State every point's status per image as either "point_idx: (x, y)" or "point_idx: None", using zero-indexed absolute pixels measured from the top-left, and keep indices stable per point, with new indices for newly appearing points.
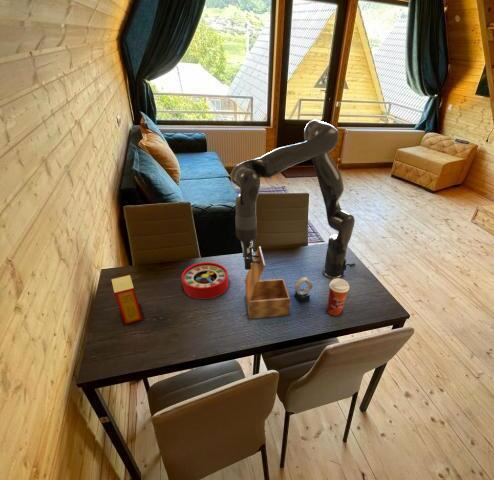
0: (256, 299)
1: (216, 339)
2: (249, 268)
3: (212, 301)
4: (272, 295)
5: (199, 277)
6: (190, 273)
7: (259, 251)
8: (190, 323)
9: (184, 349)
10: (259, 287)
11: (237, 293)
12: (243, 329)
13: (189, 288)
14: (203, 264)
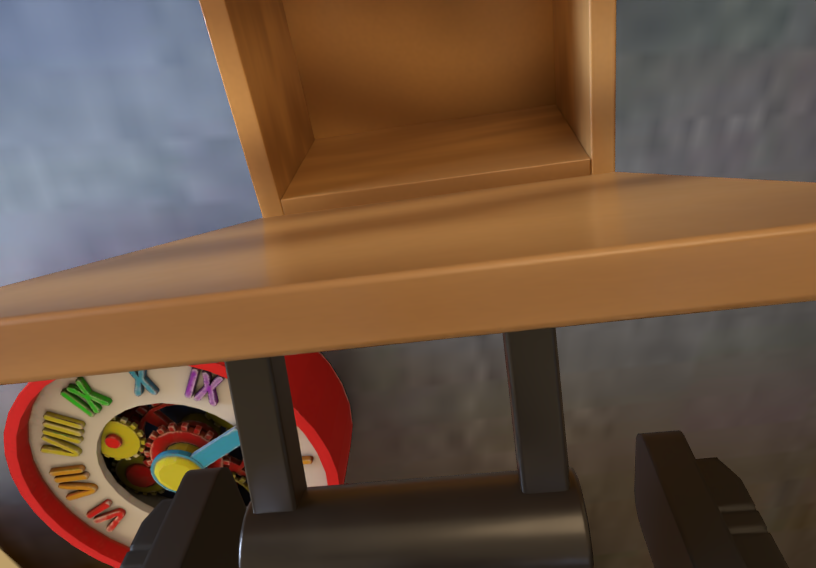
0: (342, 60)
1: (740, 315)
2: (726, 477)
3: (372, 368)
4: None
5: None
6: None
7: (91, 366)
8: (572, 451)
9: (772, 452)
10: (265, 52)
11: None
12: (684, 152)
13: None
14: (45, 495)
